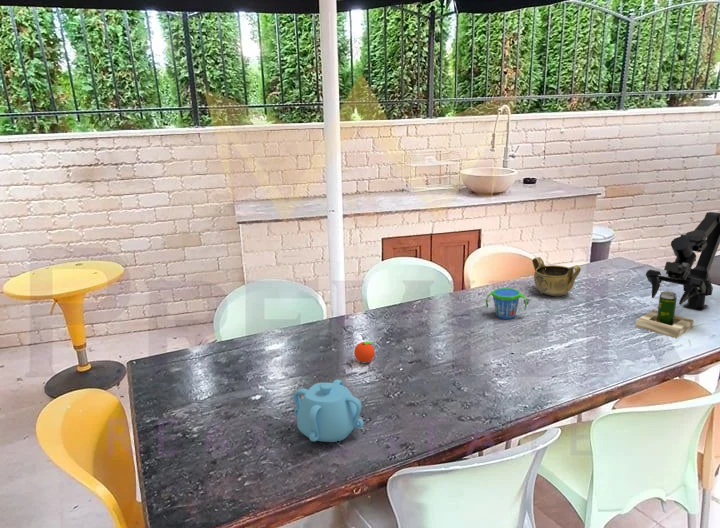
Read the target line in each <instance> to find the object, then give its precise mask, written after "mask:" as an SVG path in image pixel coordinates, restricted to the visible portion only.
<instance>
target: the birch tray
mask: <svg viewBox="0 0 720 528" xmlns="http://www.w3.org/2000/svg"><path fill="white" fill-rule="evenodd" d="M657 314H658V309H657V310H656V309H653V310H650V311H649V312H646V313H645V314H643V315H642V316H640V317H638V318H636V320H635V327H636V328H638V327H639V329H642V328H643V329H642V330H645V329H646V331H649V330H650V332H652V331H653V333H656V334H660V335H663V334H664V336H667V337H670V336H671V338H674V337H675V338H674V339H678V338H679V337H680V336H681V337H682V336H683V335H684V334H685V333H686V332H688V331H689V330H690V329H692V328H694V322H695V319H693V318H689V317H683V316H680V315H677V314H675V315H674V323H673V325H672V326H671V325H667V324H663V323H660V322H657ZM677 337H678V338H677Z"/></svg>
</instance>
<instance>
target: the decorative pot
mask: <svg viewBox="0 0 720 528" xmlns="http://www.w3.org/2000/svg"><path fill="white" fill-rule="evenodd" d="M300 394H302V395H303V398H302V400H301V397H300ZM293 400H294V403H295V406H296V408H294V412H293V413H294V416H295V417H297V418H296V424H297V425H296V426H297V428H298V430H299V431H300V433H302V435H304V436H305V437H307V438H309V440H310V441H311V442H324V443H326V442H327V443H333V442H336V443H338V442H337V441H339V442H340V441H344V440H345V439H346V438H347V437H349V436H350V435H351V433H352V432H353V430H354V429H357V430H358V429H363V426H364V425H365V424H364V423H365V422H364V420H363V419H362V418H359V417H360V414H361V412H362V402H361V401H360V399H359V398H358V397H355V395H353V394H352V393H351V391H350V390H349V388H348V387H346V386H344V383H343V380H341V379H334V380H333V381H332V382H317V383H314V384H313V385H312V386H310V387H309V388H308V389H307V388H299V389H297V390H296V391H295V392H294V393H293Z"/></svg>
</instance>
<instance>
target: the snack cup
mask: <svg viewBox="0 0 720 528" xmlns="http://www.w3.org/2000/svg"><path fill="white" fill-rule="evenodd" d="M490 296H492V299H493V302H494V303H493V304H494V308H495V316H496V317H498V318H500V319H503V320H507V319H509V320H511V319H513V318H515V317H516V316H517V311H518V307H519V306H518V305H519V299H520V298H522V299H524V311H526V309H527V305H528V301H527V297H526V296H525V294H524V293H523V294H522V293H521V292H520V290H518V289H515V288H509V287H502V288H496V289H494V290H493V291H491V292H489V293H488V294H487V296H486V299H485V306H486V308H489V303H488V302H489V301H488V298H490Z"/></svg>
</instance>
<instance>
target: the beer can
mask: <svg viewBox="0 0 720 528" xmlns="http://www.w3.org/2000/svg"><path fill="white" fill-rule="evenodd" d="M677 299H678V297H677V293H675V292H674V291H673V292H672V291H661V292H660V294H659V298H658V307H657V311H658V314H657V322H660V323H663V324H667V325H671V326H672V325H673V323H674V315H676V314H675V313H676V307H677V306H676V305H677Z"/></svg>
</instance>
